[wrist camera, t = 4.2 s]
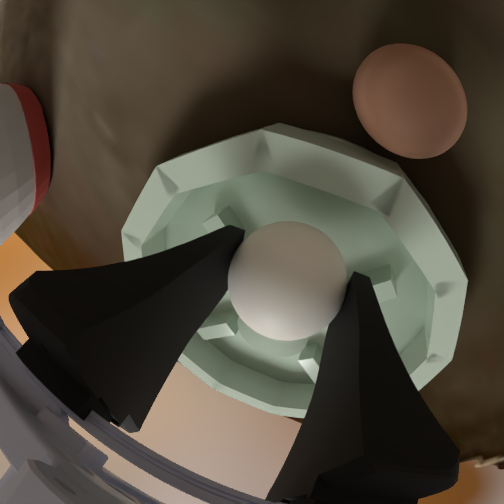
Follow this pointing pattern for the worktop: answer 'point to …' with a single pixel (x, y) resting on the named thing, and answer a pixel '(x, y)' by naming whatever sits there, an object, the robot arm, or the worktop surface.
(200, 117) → the worktop surface
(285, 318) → the ivory bead
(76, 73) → the worktop surface
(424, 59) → the terracotta bead
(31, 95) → the citrus juicer
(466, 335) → the worktop surface
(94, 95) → the worktop surface
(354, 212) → the tray
